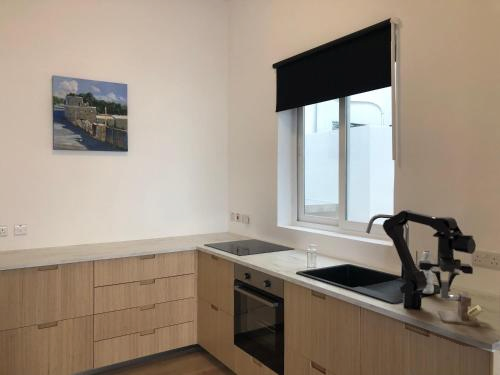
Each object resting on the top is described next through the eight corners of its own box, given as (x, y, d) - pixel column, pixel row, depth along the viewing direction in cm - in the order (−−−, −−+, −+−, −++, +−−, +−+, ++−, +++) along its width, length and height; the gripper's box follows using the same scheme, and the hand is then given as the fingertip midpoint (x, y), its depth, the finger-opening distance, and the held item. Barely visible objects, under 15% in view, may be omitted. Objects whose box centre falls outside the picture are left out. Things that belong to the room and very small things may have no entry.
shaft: (441, 300, 161) (441, 281, 161) (439, 298, 164) (440, 279, 163) (469, 303, 158) (470, 284, 158) (468, 301, 161) (468, 282, 160)
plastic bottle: (434, 296, 190) (435, 253, 190) (418, 294, 193) (419, 252, 192) (433, 292, 196) (434, 251, 196) (418, 290, 199) (419, 249, 198)
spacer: (468, 318, 157) (481, 309, 155) (465, 313, 162) (478, 304, 161) (470, 320, 157) (483, 311, 155) (467, 315, 162) (479, 306, 161)
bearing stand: (442, 322, 157) (443, 296, 156) (438, 312, 168) (438, 288, 168) (480, 326, 153) (481, 300, 153) (473, 316, 164) (474, 291, 164)
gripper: (422, 251, 156) (420, 291, 157) (476, 255, 151) (475, 296, 151) (419, 246, 167) (418, 284, 168) (470, 249, 161) (468, 288, 162)
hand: (444, 288), depth 162 cm, fingers closed on shaft, 2 cm apart
